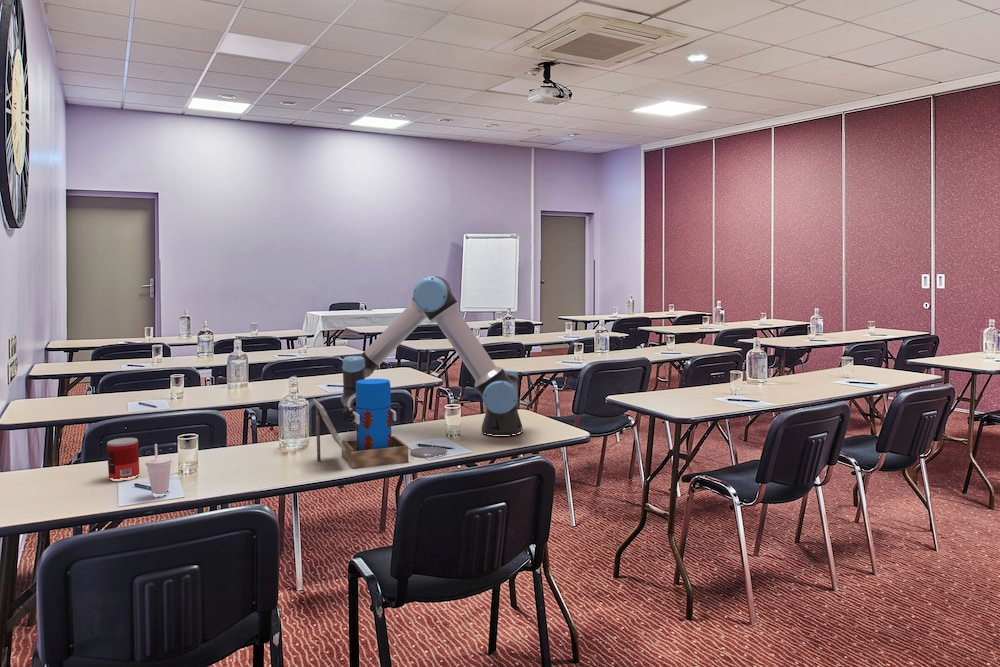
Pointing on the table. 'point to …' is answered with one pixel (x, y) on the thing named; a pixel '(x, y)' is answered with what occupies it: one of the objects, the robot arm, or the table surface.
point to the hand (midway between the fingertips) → (376, 418)
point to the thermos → (373, 414)
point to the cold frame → (366, 457)
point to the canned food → (123, 458)
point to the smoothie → (159, 473)
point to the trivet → (427, 452)
